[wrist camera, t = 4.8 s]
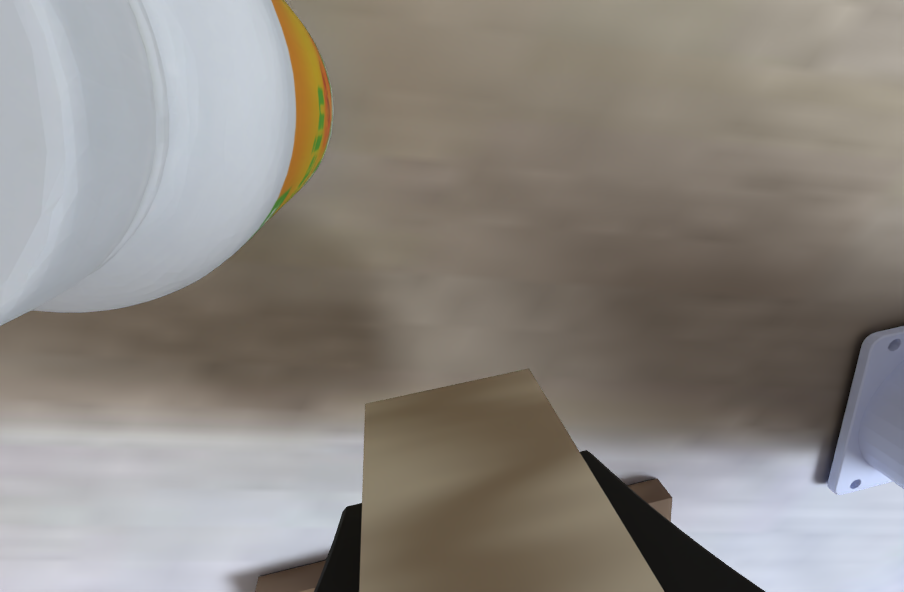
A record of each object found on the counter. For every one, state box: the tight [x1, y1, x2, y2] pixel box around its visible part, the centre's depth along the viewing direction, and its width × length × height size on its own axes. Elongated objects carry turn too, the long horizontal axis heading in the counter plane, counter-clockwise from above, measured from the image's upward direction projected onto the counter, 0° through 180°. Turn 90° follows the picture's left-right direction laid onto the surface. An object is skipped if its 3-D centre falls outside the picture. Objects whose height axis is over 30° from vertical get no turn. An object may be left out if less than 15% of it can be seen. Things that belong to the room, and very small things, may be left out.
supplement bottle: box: [0, 0, 333, 326], centre depth 7 cm, size 5×5×10 cm
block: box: [359, 369, 664, 592], centre depth 9 cm, size 4×4×6 cm
